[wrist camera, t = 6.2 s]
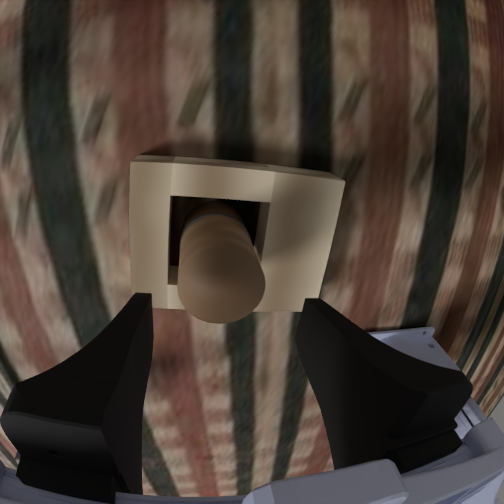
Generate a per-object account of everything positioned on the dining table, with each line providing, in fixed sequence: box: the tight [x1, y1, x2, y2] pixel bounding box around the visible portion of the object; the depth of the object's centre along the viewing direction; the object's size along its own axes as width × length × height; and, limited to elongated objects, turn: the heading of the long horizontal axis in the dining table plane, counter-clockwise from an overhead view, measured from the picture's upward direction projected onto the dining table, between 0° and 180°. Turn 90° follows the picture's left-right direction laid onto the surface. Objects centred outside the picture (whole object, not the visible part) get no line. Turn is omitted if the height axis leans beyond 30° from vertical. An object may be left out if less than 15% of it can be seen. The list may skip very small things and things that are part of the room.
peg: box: [177, 201, 266, 324], centre depth 18 cm, size 4×4×7 cm
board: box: [129, 155, 345, 311], centre depth 20 cm, size 12×9×2 cm
